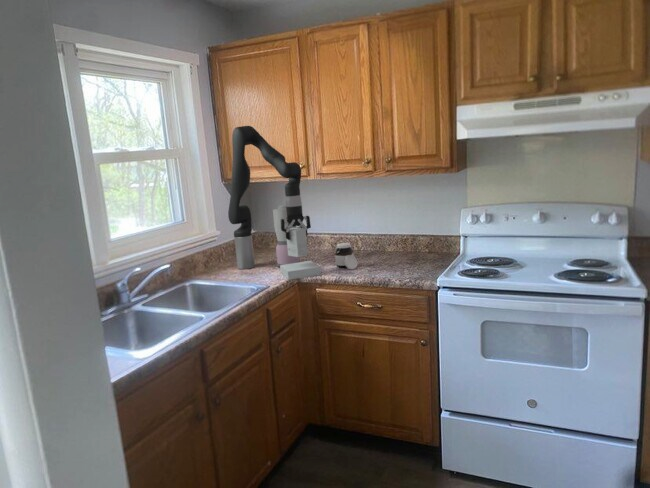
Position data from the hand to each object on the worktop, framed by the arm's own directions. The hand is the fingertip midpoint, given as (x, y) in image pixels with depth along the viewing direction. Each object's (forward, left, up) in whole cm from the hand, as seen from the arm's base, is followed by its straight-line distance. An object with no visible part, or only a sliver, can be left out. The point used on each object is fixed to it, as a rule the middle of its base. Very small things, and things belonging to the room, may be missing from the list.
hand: (296, 238), depth 235 cm
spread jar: (+2, +24, -18) cm, 30 cm away
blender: (-20, +1, -18) cm, 27 cm away
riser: (0, 0, -18) cm, 18 cm away
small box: (0, 0, -9) cm, 9 cm away
